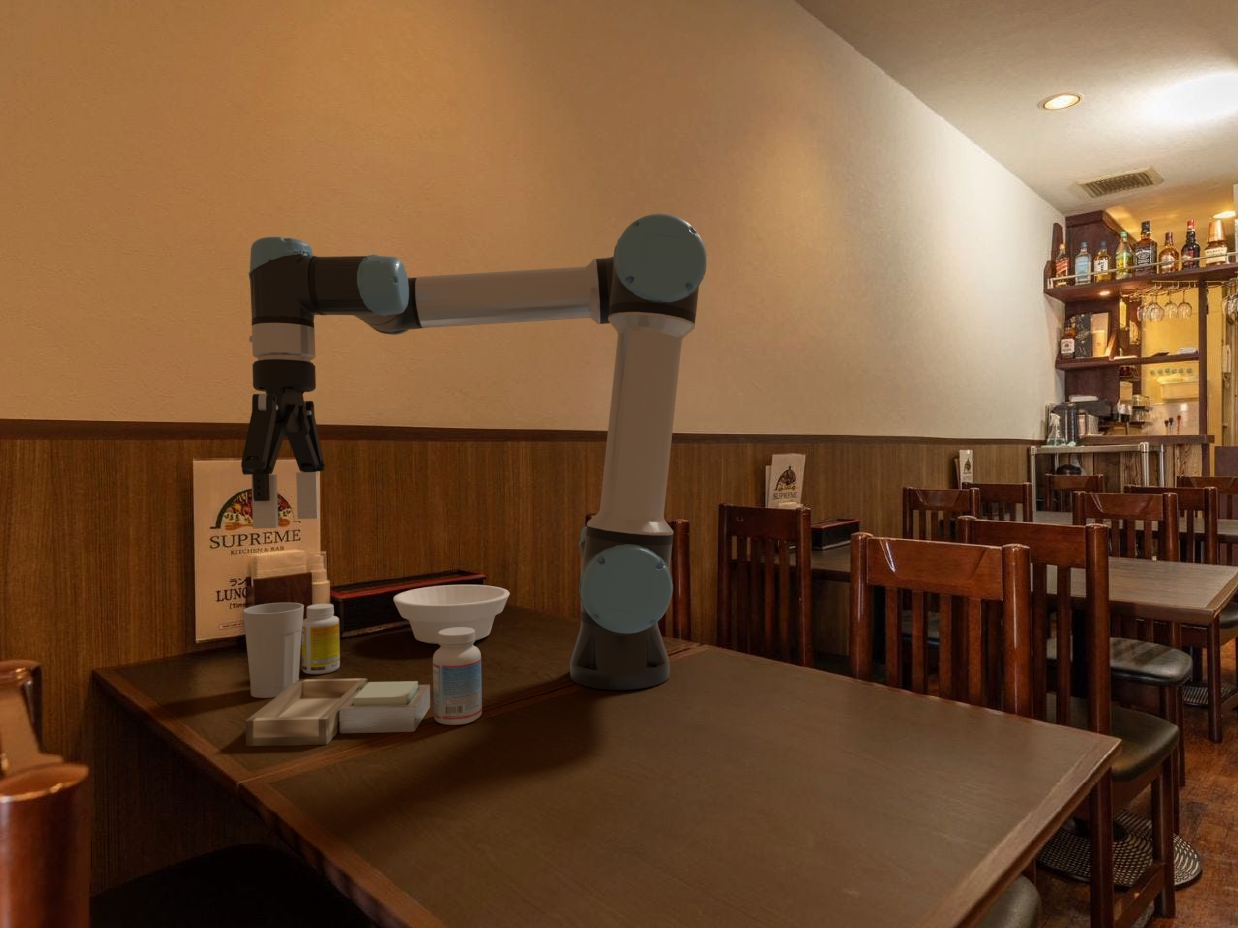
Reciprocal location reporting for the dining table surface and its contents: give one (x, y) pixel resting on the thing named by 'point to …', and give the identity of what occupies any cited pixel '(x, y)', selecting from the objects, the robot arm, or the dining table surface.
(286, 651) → the cup
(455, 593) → the bowl
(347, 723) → the white note holder
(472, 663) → the pill bottle
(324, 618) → the supplement bottle
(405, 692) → the pad
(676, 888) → the dining table surface
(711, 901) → the dining table surface
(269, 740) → the trough
